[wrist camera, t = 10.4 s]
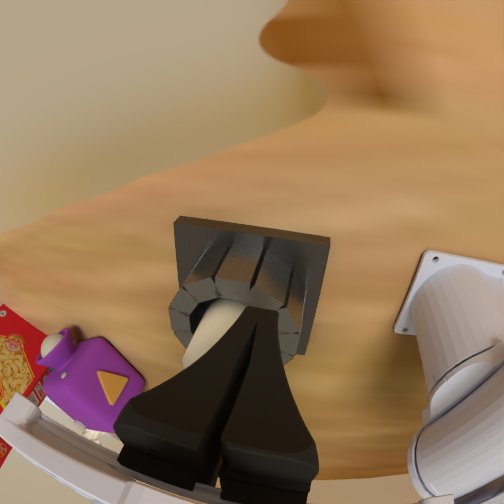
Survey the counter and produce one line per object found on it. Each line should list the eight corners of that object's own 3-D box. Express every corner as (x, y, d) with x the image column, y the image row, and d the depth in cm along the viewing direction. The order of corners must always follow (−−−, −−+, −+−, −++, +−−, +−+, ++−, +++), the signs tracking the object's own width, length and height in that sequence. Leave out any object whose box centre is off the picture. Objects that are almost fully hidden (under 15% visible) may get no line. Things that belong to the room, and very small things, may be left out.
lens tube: (330, 237, 21) (330, 281, 17) (305, 345, 27) (299, 392, 23) (180, 215, 23) (146, 250, 19) (189, 322, 29) (167, 363, 24)
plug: (274, 291, 21) (256, 358, 16) (267, 335, 23) (249, 398, 18) (212, 278, 22) (179, 339, 17) (211, 322, 24) (185, 382, 19)
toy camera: (75, 302, 32) (25, 360, 24) (158, 376, 36) (125, 440, 27) (54, 330, 37) (16, 377, 29) (123, 390, 41) (94, 441, 32)
